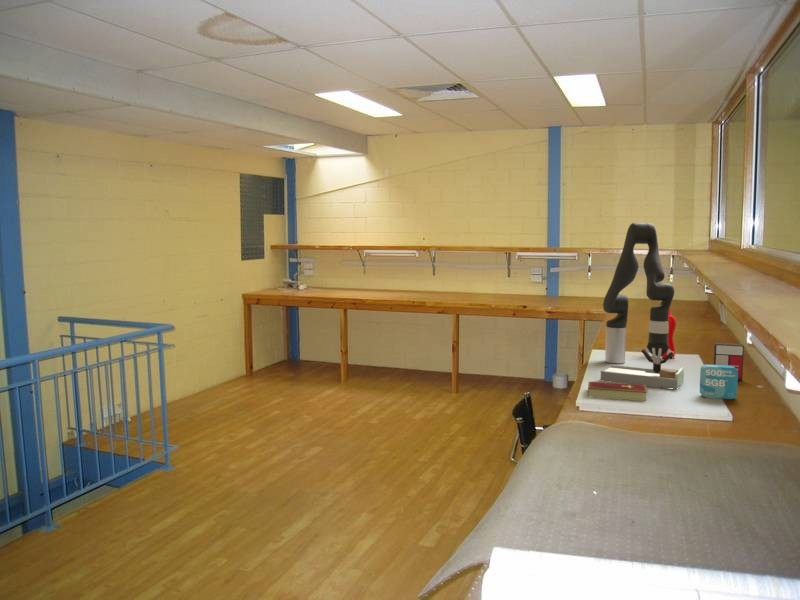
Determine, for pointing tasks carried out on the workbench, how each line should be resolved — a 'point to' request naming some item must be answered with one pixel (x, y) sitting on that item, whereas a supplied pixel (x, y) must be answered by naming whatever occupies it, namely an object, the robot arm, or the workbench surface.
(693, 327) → the workbench surface
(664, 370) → the walnut block
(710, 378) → the data package
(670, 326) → the water bottle
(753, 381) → the workbench surface
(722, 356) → the grey white red block
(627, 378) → the box
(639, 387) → the hardcover book
